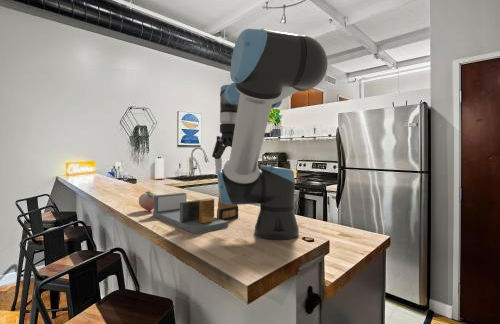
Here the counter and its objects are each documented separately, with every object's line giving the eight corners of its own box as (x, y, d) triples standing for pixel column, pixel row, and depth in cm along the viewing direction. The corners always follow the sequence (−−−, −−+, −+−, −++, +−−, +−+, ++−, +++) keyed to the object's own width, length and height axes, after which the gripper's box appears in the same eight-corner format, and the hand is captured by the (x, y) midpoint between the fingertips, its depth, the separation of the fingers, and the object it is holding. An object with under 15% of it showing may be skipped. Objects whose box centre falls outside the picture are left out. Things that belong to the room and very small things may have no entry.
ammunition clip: (219, 222, 105) (219, 192, 104) (216, 221, 106) (216, 192, 106) (238, 217, 113) (238, 190, 112) (235, 217, 114) (235, 189, 114)
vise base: (228, 226, 98) (228, 203, 98) (195, 234, 88) (195, 207, 88) (181, 211, 123) (182, 192, 123) (152, 215, 114) (152, 195, 114)
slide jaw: (223, 219, 100) (223, 198, 100) (190, 225, 90) (191, 202, 90) (210, 215, 106) (210, 195, 106) (179, 220, 97) (179, 199, 96)
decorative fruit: (135, 210, 123) (135, 189, 123) (152, 208, 129) (152, 188, 129) (143, 214, 116) (143, 192, 116) (160, 211, 122) (161, 190, 122)
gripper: (256, 122, 102) (255, 176, 102) (218, 126, 120) (217, 172, 121) (242, 120, 97) (241, 177, 97) (204, 125, 115) (204, 173, 116)
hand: (228, 175), depth 109 cm, fingers open, 13 cm apart
